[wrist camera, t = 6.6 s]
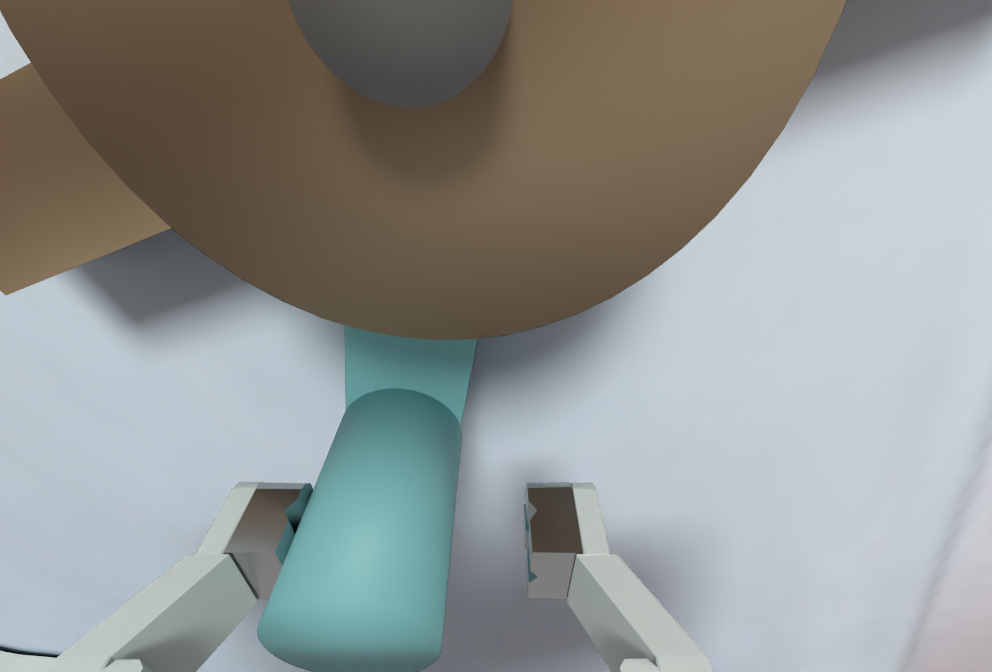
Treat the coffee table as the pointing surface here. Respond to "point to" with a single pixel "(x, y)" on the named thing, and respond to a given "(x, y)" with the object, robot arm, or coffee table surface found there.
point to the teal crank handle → (378, 515)
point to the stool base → (395, 143)
